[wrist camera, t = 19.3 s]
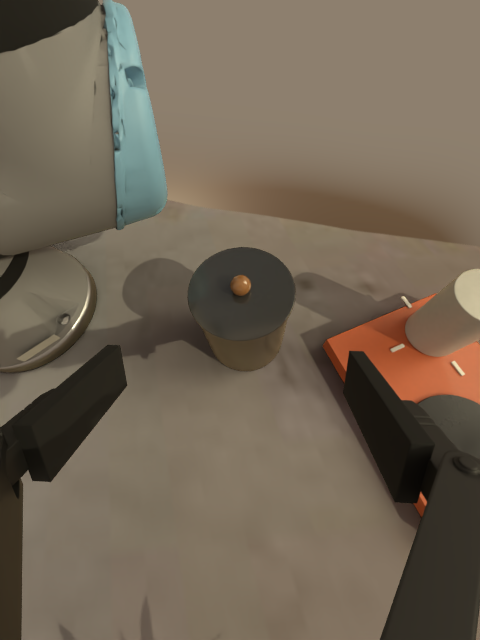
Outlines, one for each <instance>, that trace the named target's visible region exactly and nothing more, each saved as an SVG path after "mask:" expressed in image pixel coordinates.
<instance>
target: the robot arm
mask: <svg viewBox="0 0 480 640" xmlns="http://www.w3.org/2000/svg"><path fill="white" fill-rule="evenodd" d="M166 201H167V185H166V178H165V172H164V167H163V161H162V156H161V150H160V145H159V140H158V135H157V130H156V125H155V121H154V116H153V111H152V106H151V102H150V98H149V94H148V90H147V88H146V80H145V75H144V71H143V67H142V62H141V56H140V51H139V46H138V42H137V38H136V34H135V30H134V26H133V22H132V19H131V16H130V14H129V11H128V10H127V8H126V7H125V6H124V5H122V4H119V3H115V2H113V1H112V0H103V4H102V5H100V3H99V1H98V0H0V372H9V373H12V372H22V371H27V370H31V369H34V368H37V367H40V366H42V365H44V364H47V363H48V362H50V361H52V360H54V359H56V358H57V357H59V356H60V355H61V354H63V353H64V352H65V351H67V350H68V349H69V348H70V347H71V346H72V345H73V344H74V343H75V342H76V341H77V340H78V339H79V338H80V337H81V335H82V334H83V333H84V331H85V330H86V328H87V327H88V325H89V323H90V321H91V319H92V317H93V314H94V311H95V307H96V302H97V290H96V285H95V282H94V279H93V277H92V276H91V274H90V273H89V272H88V270H87V269H86V268H85V267H84V266H83V265H82V264H81V263H80V262H79V261H78V260H77V259H76V258H74V257H73V256H71V255H70V254H68V253H65V252H63V251H60V250H58V249H56V248H54V247H52V246H50V245H53V244H57V243H61V242H64V241H68V240H72V239H75V238H79V237H83V236H86V235H90V234H94V233H97V232H101V231H105V230H108V229H112V228H116V229H117V230H121V229H123V228H124V226H125V225H128V224H131V223H134V222H137V221H140V220H144V219H147V218H150V217H153V216H155V215H157V214H158V213H160V212H161V211H162V209H163V208H164V206H165V204H166ZM126 386H127V382H126V376H125V370H124V365H123V359H122V354H121V348H120V345H107V346H106V347H105V348H103V349H102V350H101V351H100V352H99V353H97V354H96V355H95V356H94V357H93V358H91V359H90V360H89V361H88V362H87V363H85V364H84V365H83V366H82V367H81V368H79V369H78V370H77V371H76V372H75V373H73V374H72V375H71V376H70V377H69V378H67V379H66V380H65V381H64V382H63V383H61V384H60V385H59V386H58V387H57V388H55V389H51V390H50V391H48V392H46V393H44V394H42V395H40V396H39V397H38V398H37V399H35V400H34V401H33V402H32V404H29V405H28V406H27V407H26V408H25V409H24V410H22V411H21V412H19V413H18V414H17V415H16V416H14V417H13V418H12V419H11V420H9V421H8V422H7V423H6V424H5V425H3V426H2V427H0V640H21V618H22V531H23V483H22V481H21V477H22V476H23V475H24V474H25V473H26V471H27V470H29V473H30V475H31V478H32V481H45V482H51V481H52V480H53V478H54V477H55V476H56V475H57V473H58V472H59V471H60V470H61V468H62V467H63V466H64V465H65V463H66V462H67V461H68V460H69V458H70V457H71V456H72V455H73V453H74V452H75V451H76V449H77V448H78V447H79V446H80V444H81V443H82V442H83V441H84V439H85V438H86V437H87V436H88V434H89V433H90V432H91V431H92V429H93V428H94V427H95V426H96V424H97V423H98V422H99V420H100V419H101V418H102V417H103V415H104V414H105V413H106V412H107V410H108V409H109V408H110V407H111V405H112V404H113V403H114V402H115V400H116V399H117V398H118V397H119V395H120V394H121V393H122V391H123V390H124V389H125V388H126ZM343 394H344V396H345V398H346V400H347V402H348V404H349V406H350V408H351V411H352V413H353V415H354V417H355V419H356V421H357V423H358V425H359V427H360V429H361V432H362V434H363V436H364V438H365V440H366V442H367V444H368V446H369V448H370V451H371V453H372V455H373V457H374V459H375V461H376V463H377V465H378V467H379V470H380V472H381V474H382V476H383V478H384V480H385V482H386V484H387V486H388V489H389V491H390V493H391V495H392V497H393V499H394V501H395V502H400V503H417V502H418V499H419V495H420V492H421V493H422V494H423V496H424V498H425V499H426V501H427V504H426V506H425V509H424V512H423V515H422V518H421V521H420V524H419V527H418V530H417V533H416V536H415V539H414V542H413V545H412V547H411V550H410V553H409V556H408V559H407V562H406V565H405V568H404V571H403V574H402V577H401V580H400V583H399V585H398V588H397V591H396V594H395V597H394V600H393V603H392V606H391V609H390V612H389V615H388V618H387V621H386V624H385V626H384V629H383V632H382V635H381V638H380V640H476V633H477V624H478V616H479V607H480V459H478V458H476V457H474V456H472V455H470V454H468V453H465V452H462V451H459V450H458V448H457V447H456V446H455V445H454V444H453V443H452V441H451V440H450V439H449V438H448V437H447V436H446V434H445V433H444V432H443V431H442V430H441V429H440V427H439V426H437V424H436V423H435V422H434V420H433V419H431V418H430V416H429V415H428V413H427V412H426V411H425V410H424V409H423V408H422V407H421V406H419V405H418V404H416V403H415V402H413V401H412V400H401V399H400V398H399V396H398V395H397V394H396V393H395V391H394V390H393V389H392V387H391V386H390V385H389V383H388V382H387V381H386V380H385V378H384V377H383V376H382V374H381V373H380V372H379V371H378V369H377V368H376V367H375V365H374V364H373V363H372V362H371V360H370V359H369V358H368V356H367V355H366V354H365V353H364V351H349V356H348V363H347V370H346V376H345V383H344V390H343Z"/></svg>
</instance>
